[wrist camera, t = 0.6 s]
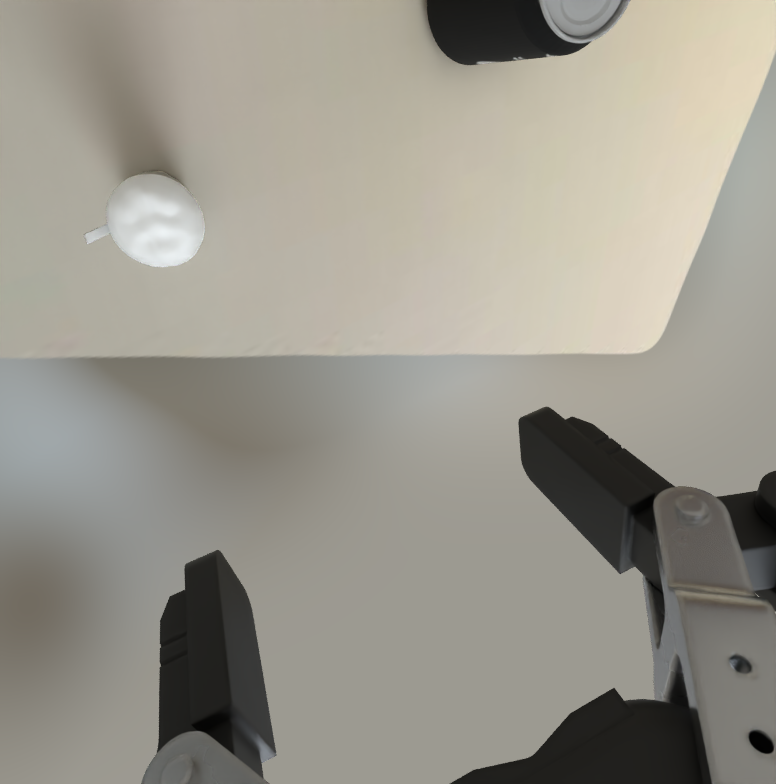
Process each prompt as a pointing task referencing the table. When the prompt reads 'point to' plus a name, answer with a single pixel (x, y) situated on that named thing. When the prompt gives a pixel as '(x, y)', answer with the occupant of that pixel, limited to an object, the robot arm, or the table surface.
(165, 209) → the milkshake
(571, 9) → the beverage can
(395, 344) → the table surface
